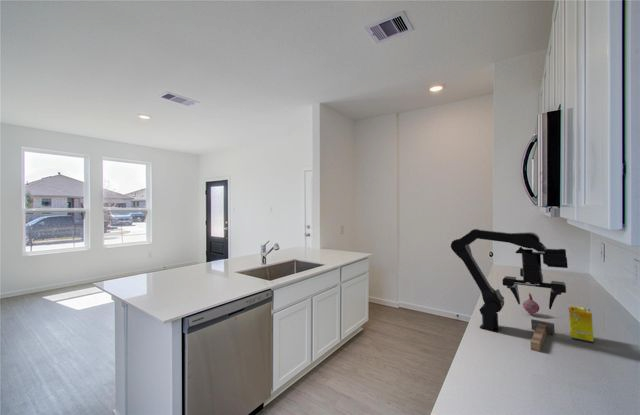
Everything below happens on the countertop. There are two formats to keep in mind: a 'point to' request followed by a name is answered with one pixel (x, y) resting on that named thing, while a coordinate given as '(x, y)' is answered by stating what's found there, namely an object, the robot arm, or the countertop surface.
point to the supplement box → (581, 324)
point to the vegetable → (531, 305)
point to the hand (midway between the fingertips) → (534, 306)
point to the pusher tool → (540, 333)
